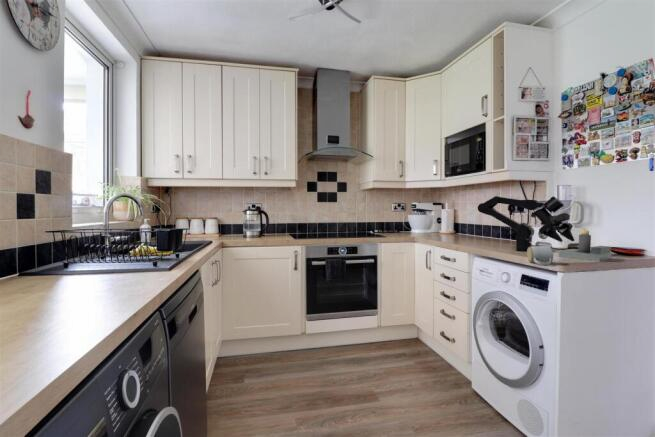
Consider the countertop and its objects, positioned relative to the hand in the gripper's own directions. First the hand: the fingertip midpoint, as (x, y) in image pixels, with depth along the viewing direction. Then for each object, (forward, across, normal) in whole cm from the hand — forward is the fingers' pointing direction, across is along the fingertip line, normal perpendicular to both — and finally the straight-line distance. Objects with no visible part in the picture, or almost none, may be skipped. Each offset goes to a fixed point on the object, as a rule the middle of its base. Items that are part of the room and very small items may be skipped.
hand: (567, 241), depth 156 cm
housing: (+10, 0, 0) cm, 10 cm away
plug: (+10, 0, 0) cm, 10 cm away
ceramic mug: (+12, -34, -1) cm, 36 cm away
